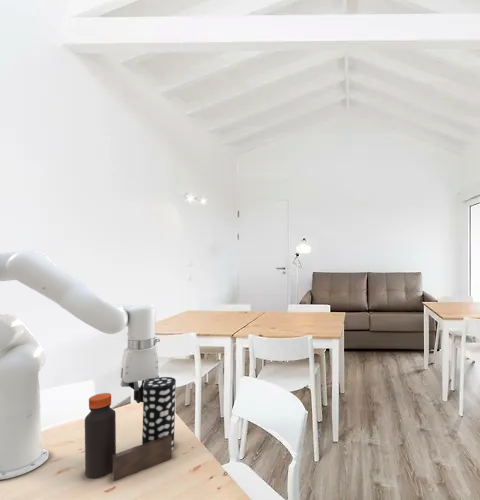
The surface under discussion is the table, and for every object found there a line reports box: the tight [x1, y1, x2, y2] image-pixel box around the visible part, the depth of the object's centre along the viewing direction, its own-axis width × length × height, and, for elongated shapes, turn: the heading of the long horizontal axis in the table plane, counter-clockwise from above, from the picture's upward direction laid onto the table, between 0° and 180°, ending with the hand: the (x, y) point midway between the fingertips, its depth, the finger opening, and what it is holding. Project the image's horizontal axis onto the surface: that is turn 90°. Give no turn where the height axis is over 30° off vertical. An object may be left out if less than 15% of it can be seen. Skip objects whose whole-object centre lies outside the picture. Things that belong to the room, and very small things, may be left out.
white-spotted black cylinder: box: [141, 376, 177, 450], centre depth 104 cm, size 8×8×20 cm
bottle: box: [84, 392, 117, 479], centre depth 95 cm, size 7×7×20 cm
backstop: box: [111, 435, 173, 482], centre depth 96 cm, size 14×2×6 cm, turn 134°
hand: (139, 401), depth 112 cm, fingers closed
